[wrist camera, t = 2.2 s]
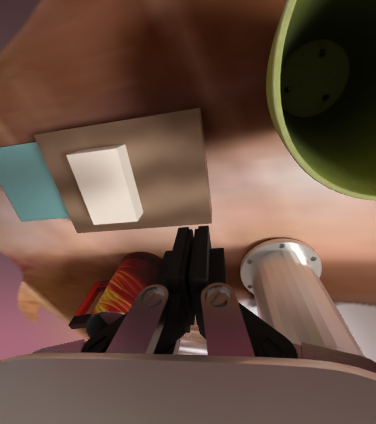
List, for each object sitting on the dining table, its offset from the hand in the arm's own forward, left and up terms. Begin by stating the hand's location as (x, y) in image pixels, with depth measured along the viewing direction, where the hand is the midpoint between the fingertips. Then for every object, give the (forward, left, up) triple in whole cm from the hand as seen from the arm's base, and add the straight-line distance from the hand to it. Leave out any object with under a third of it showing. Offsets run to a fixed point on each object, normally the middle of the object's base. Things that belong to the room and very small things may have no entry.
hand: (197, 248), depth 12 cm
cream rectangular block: (0, +12, -15) cm, 19 cm away
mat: (0, +26, -19) cm, 33 cm away
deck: (0, +10, -19) cm, 21 cm away
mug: (-20, +15, -19) cm, 32 cm away
